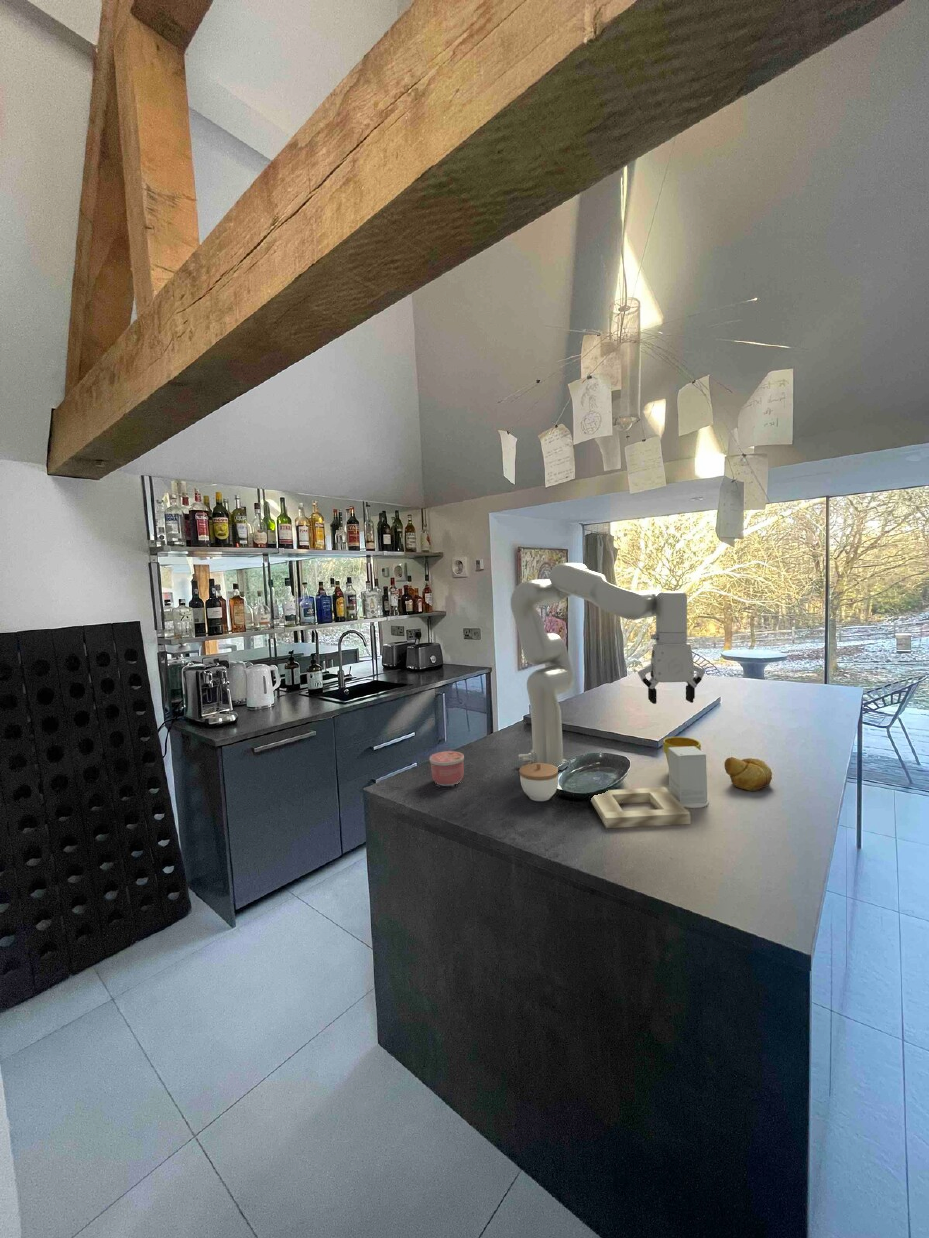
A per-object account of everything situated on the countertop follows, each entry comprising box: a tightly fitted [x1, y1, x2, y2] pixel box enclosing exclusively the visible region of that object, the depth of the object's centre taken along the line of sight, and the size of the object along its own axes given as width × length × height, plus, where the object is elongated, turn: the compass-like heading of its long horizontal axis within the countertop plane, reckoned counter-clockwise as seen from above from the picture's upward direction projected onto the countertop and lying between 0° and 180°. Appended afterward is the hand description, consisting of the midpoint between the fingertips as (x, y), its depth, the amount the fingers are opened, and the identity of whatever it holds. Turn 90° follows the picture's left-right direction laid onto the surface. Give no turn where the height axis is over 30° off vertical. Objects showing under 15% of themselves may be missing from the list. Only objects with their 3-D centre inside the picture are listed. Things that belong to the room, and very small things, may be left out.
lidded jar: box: [518, 763, 559, 802], centre depth 143 cm, size 11×11×9 cm
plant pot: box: [662, 736, 702, 767], centre depth 153 cm, size 10×10×10 cm
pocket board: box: [590, 786, 691, 829], centre depth 131 cm, size 20×16×2 cm
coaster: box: [680, 796, 710, 809], centre depth 136 cm, size 10×10×1 cm
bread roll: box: [723, 756, 773, 792], centre depth 142 cm, size 13×10×8 cm
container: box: [429, 750, 465, 785], centre depth 157 cm, size 10×10×8 cm
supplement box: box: [667, 746, 708, 803], centre depth 135 cm, size 7×7×13 cm
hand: (671, 702), depth 137 cm, fingers open, 9 cm apart
